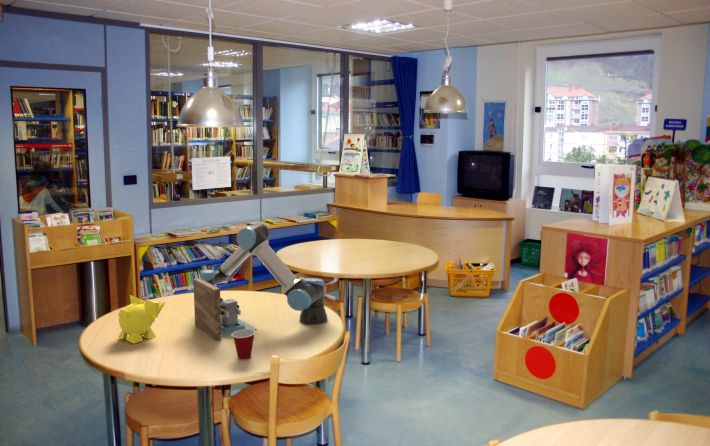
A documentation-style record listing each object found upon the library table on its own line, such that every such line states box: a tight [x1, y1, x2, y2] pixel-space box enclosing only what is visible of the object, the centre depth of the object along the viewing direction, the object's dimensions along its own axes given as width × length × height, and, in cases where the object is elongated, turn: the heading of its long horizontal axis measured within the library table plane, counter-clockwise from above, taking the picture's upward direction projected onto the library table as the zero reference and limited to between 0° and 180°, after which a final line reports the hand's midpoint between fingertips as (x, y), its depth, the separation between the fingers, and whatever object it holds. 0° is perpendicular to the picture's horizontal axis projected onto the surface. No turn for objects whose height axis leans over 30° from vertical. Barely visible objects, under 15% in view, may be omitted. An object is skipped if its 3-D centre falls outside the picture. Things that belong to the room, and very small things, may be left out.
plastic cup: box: [230, 329, 256, 360], centre depth 280 cm, size 11×11×12 cm
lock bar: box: [221, 298, 239, 326], centre depth 319 cm, size 6×6×12 cm
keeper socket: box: [221, 318, 257, 338], centre depth 321 cm, size 20×20×2 cm
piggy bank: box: [117, 294, 166, 345], centre depth 305 cm, size 20×20×19 cm
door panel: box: [192, 277, 223, 341], centre depth 311 cm, size 4×26×26 cm, turn 37°
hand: (234, 313), depth 315 cm, fingers closed on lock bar, 6 cm apart
